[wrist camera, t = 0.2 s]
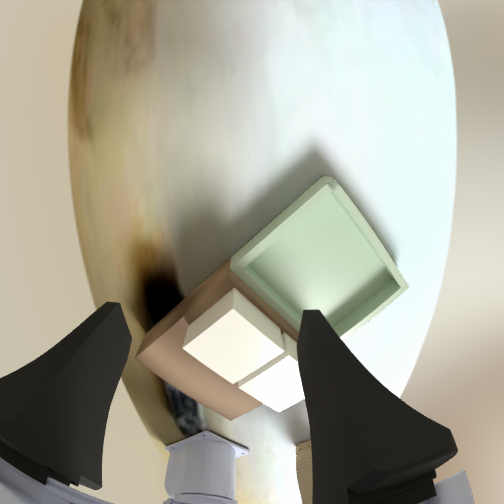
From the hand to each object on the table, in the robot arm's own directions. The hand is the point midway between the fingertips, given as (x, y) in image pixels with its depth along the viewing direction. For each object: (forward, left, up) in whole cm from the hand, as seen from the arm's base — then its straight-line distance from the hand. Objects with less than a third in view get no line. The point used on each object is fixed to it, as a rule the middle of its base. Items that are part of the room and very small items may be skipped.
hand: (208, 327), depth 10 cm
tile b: (-3, -4, -7) cm, 9 cm away
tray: (+4, -7, -11) cm, 13 cm away
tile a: (-3, -9, -7) cm, 12 cm away
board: (-6, -7, -11) cm, 14 cm away
